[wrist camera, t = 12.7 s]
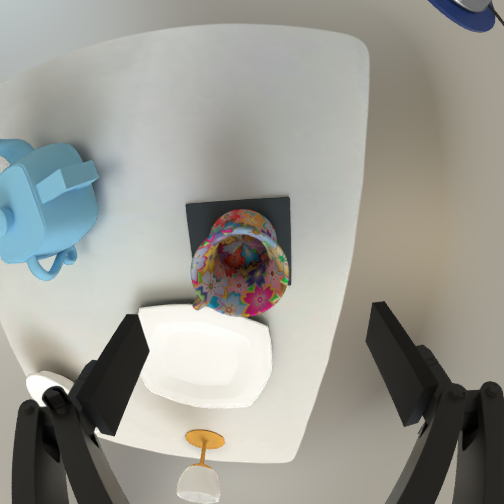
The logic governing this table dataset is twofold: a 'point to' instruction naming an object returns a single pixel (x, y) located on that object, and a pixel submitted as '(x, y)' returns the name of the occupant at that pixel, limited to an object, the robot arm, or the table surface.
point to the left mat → (209, 212)
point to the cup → (201, 471)
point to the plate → (205, 356)
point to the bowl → (47, 385)
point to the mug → (239, 266)
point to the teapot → (44, 204)
